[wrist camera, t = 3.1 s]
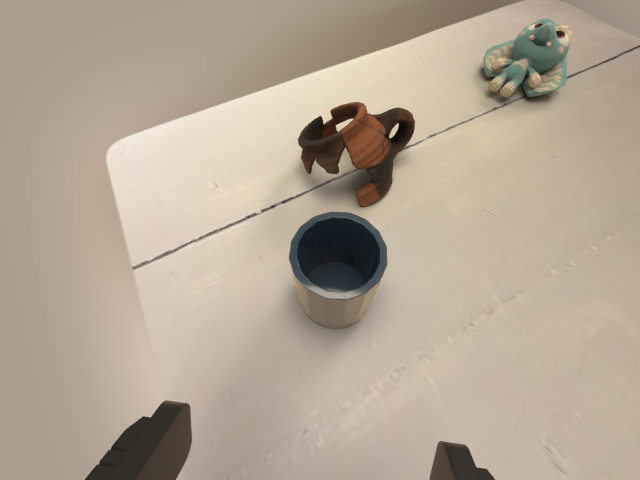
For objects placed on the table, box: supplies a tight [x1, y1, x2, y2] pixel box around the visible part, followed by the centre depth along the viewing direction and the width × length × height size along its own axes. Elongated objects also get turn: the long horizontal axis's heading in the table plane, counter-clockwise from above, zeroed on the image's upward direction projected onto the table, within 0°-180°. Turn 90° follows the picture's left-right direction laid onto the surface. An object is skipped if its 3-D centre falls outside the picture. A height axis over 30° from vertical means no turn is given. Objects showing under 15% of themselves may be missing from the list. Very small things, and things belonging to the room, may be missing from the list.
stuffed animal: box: [484, 19, 572, 97], centre depth 38 cm, size 11×7×12 cm
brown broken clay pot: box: [298, 102, 415, 207], centre depth 32 cm, size 12×10×8 cm
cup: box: [289, 212, 387, 329], centre depth 23 cm, size 6×6×8 cm
